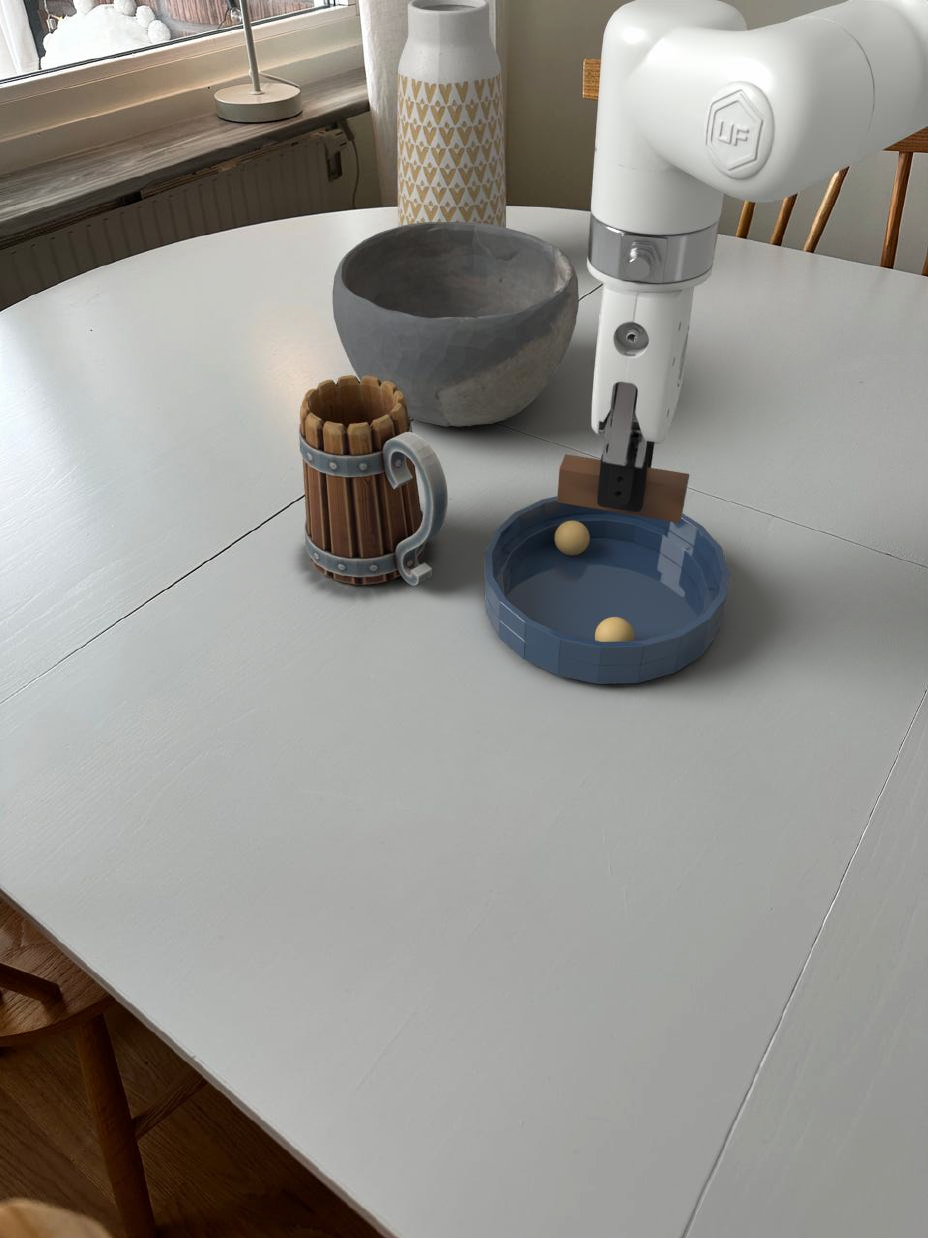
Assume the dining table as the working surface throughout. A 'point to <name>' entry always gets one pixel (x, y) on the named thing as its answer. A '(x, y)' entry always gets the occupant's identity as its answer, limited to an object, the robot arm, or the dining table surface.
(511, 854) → the dining table surface
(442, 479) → the mug
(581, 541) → the bead
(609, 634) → the bead
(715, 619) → the round tray
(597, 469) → the brown wooden block
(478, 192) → the vase
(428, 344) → the bowl
